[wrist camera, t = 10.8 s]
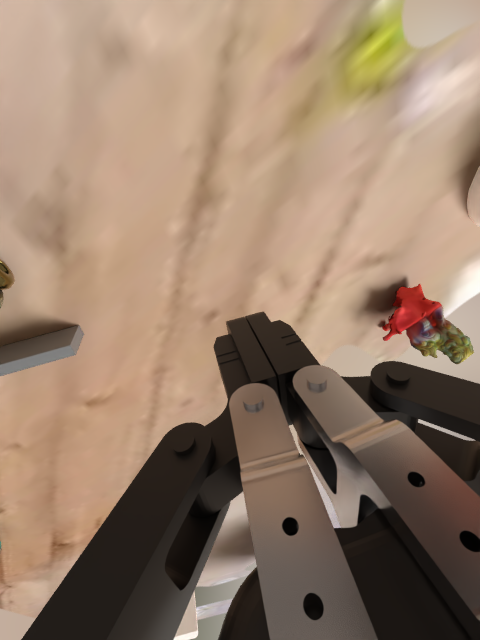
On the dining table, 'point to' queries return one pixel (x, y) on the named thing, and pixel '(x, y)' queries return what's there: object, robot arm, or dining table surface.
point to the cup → (5, 279)
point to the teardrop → (474, 199)
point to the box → (40, 350)
